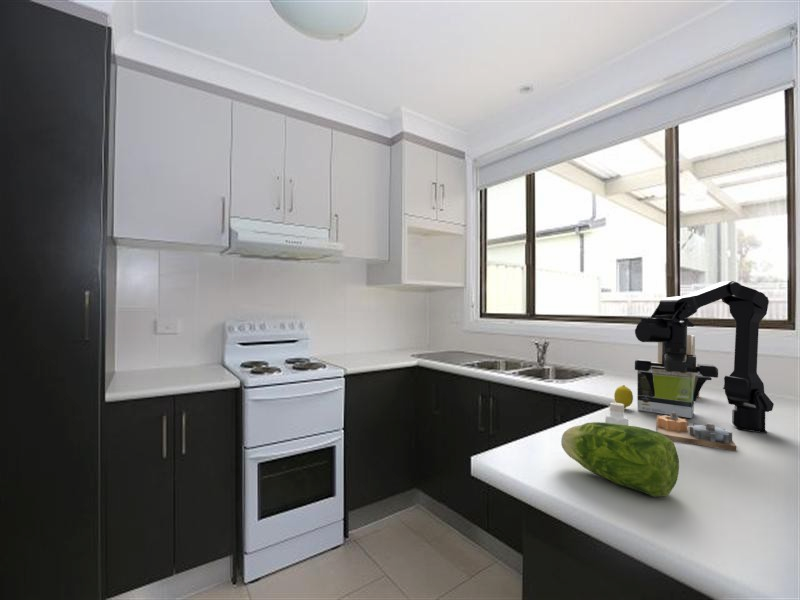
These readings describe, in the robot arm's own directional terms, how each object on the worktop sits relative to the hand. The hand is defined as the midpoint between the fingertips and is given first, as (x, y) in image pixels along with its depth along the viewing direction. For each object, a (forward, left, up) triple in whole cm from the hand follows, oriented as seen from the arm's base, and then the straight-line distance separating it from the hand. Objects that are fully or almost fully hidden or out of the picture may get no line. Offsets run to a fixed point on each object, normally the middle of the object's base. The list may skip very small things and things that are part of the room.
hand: (673, 398), depth 109 cm
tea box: (+1, -26, -10) cm, 27 cm away
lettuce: (+12, +45, -10) cm, 48 cm away
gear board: (-4, +2, -9) cm, 10 cm away
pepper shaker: (+13, +18, -10) cm, 24 cm away
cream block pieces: (-5, -59, -10) cm, 60 cm away
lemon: (+13, -22, -10) cm, 27 cm away
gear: (0, 0, -8) cm, 8 cm away
